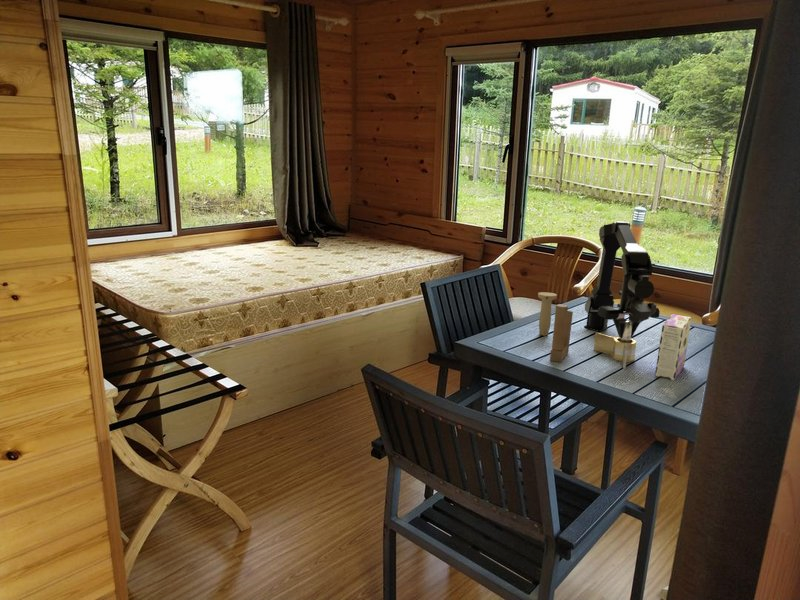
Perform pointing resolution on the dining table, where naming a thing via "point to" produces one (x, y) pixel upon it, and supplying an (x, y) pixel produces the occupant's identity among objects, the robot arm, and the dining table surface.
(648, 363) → the dining table surface
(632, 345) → the hinge
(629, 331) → the pin
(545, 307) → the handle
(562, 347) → the wooden block
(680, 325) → the candy box
